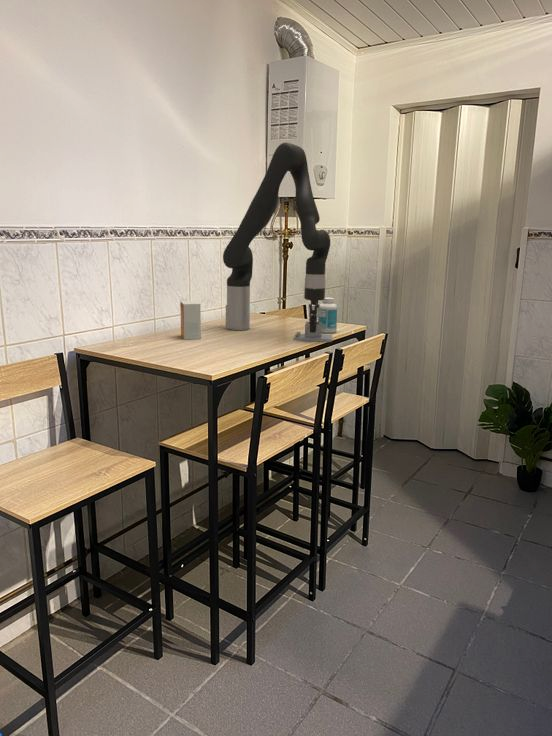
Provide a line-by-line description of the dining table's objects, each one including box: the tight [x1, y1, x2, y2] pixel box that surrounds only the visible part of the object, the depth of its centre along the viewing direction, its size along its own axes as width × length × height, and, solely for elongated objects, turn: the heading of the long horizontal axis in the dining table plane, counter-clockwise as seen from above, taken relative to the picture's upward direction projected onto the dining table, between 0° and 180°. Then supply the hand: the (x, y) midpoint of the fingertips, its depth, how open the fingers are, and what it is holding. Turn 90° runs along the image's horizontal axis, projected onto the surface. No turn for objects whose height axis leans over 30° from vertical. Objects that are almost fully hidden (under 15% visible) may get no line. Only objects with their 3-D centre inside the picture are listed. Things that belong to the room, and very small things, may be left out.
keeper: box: [293, 331, 333, 343], centre depth 215 cm, size 14×9×5 cm, turn 84°
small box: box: [179, 300, 202, 340], centre depth 212 cm, size 8×6×13 cm
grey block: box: [304, 320, 322, 338], centre depth 214 cm, size 6×6×5 cm
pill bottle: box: [317, 296, 338, 334], centre depth 229 cm, size 8×7×14 cm
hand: (313, 330), depth 214 cm, fingers open, 8 cm apart
